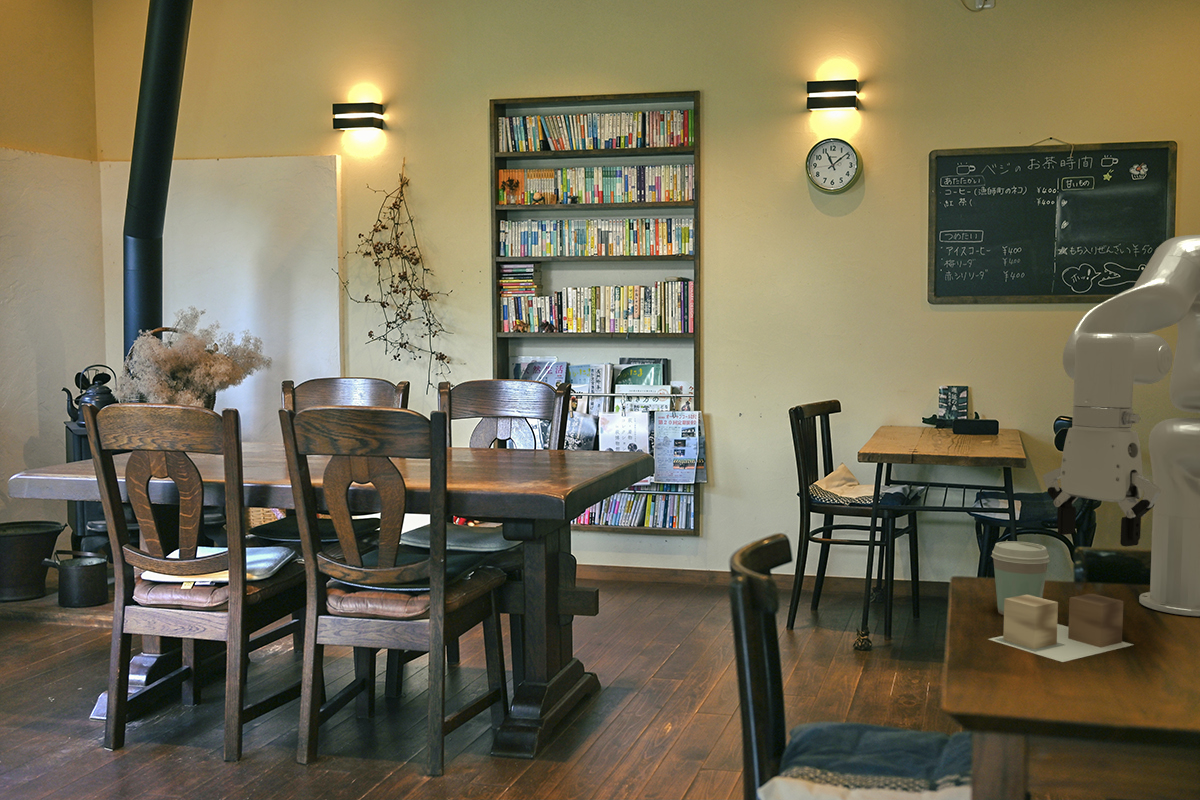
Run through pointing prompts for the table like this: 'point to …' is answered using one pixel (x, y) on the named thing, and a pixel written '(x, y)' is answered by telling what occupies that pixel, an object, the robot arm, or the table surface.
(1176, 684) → the table surface
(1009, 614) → the beech block
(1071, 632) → the walnut block
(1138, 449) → the robot arm
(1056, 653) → the build board
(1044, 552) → the coffee cup
